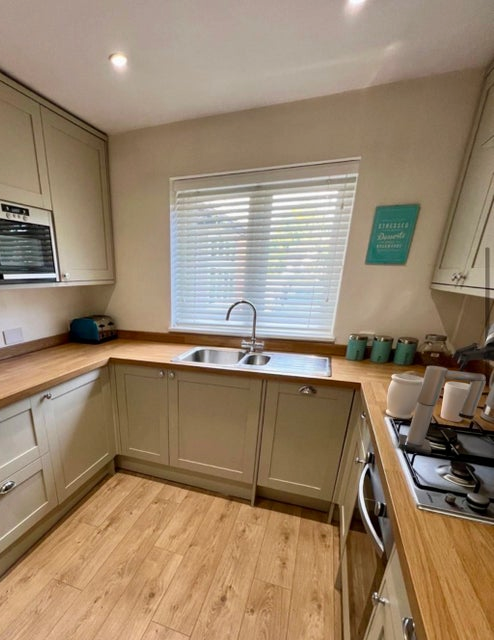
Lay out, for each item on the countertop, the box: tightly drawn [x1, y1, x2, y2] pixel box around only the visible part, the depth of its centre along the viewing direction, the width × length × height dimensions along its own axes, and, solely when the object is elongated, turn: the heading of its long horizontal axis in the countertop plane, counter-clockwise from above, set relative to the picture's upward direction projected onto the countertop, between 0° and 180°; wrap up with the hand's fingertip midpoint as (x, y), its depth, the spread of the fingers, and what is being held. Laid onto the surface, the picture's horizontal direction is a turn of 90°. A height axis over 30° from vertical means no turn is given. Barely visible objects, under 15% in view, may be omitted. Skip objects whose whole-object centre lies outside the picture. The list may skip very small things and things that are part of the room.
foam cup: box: [440, 381, 470, 423], centre depth 122 cm, size 10×9×13 cm
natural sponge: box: [402, 370, 423, 378], centre depth 151 cm, size 9×9×10 cm
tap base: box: [397, 402, 436, 456], centre depth 100 cm, size 8×8×14 cm
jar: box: [385, 373, 424, 420], centre depth 123 cm, size 11×10×15 cm
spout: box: [417, 365, 487, 420], centre depth 94 cm, size 14×5×13 cm, turn 65°
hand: (492, 376), depth 91 cm, fingers open, 13 cm apart
